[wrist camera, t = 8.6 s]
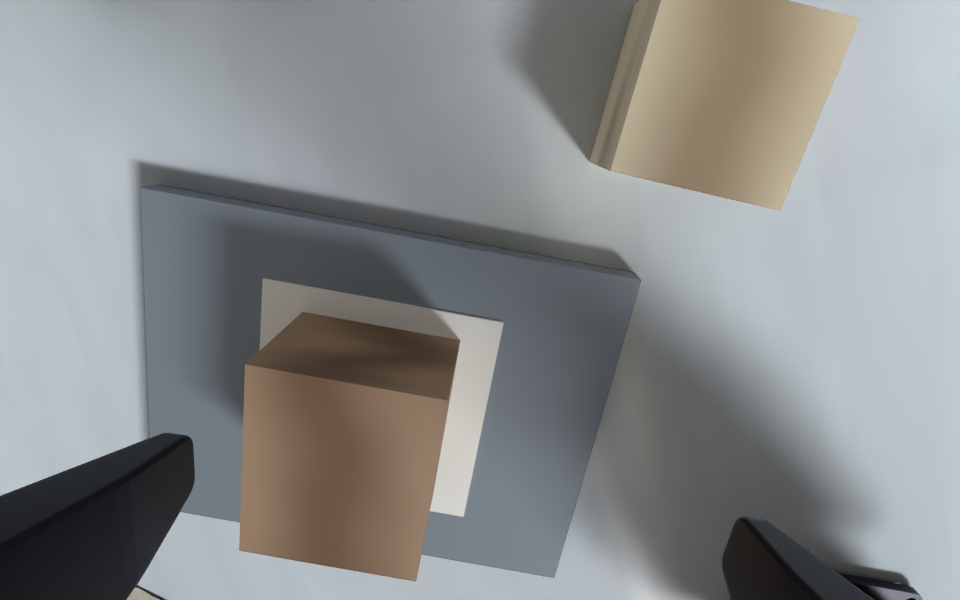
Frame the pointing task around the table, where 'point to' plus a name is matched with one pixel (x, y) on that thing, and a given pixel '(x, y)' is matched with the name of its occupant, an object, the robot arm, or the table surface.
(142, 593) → the condiment
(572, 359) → the board
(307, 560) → the walnut block
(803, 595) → the robot arm
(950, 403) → the table surface
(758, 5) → the birch cube
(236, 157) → the table surface
